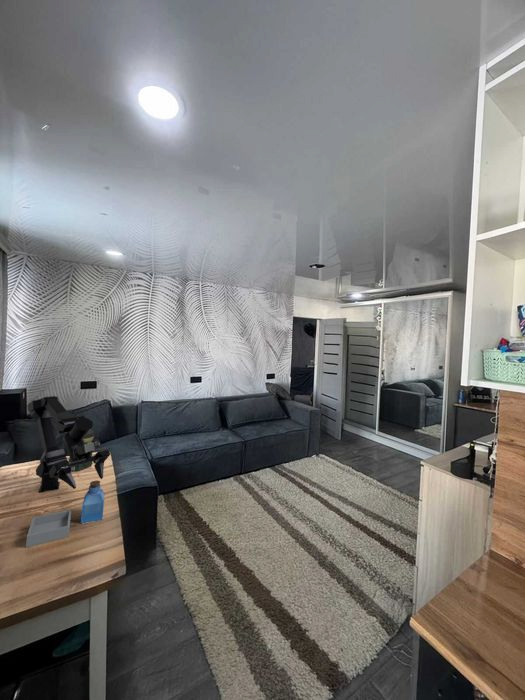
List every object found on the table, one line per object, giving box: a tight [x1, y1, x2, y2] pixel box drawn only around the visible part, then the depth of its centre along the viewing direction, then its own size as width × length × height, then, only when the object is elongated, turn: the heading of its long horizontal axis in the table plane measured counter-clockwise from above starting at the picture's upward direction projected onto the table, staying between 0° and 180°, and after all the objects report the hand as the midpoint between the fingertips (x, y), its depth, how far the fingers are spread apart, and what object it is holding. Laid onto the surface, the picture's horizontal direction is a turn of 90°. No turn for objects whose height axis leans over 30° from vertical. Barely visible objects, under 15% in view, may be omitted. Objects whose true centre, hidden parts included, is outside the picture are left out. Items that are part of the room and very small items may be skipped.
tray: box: [25, 509, 72, 549], centre depth 86 cm, size 10×10×3 cm
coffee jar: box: [68, 428, 95, 472], centre depth 132 cm, size 10×8×19 cm
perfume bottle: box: [80, 480, 106, 524], centre depth 95 cm, size 6×6×12 cm
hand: (89, 483), depth 97 cm, fingers open, 9 cm apart
